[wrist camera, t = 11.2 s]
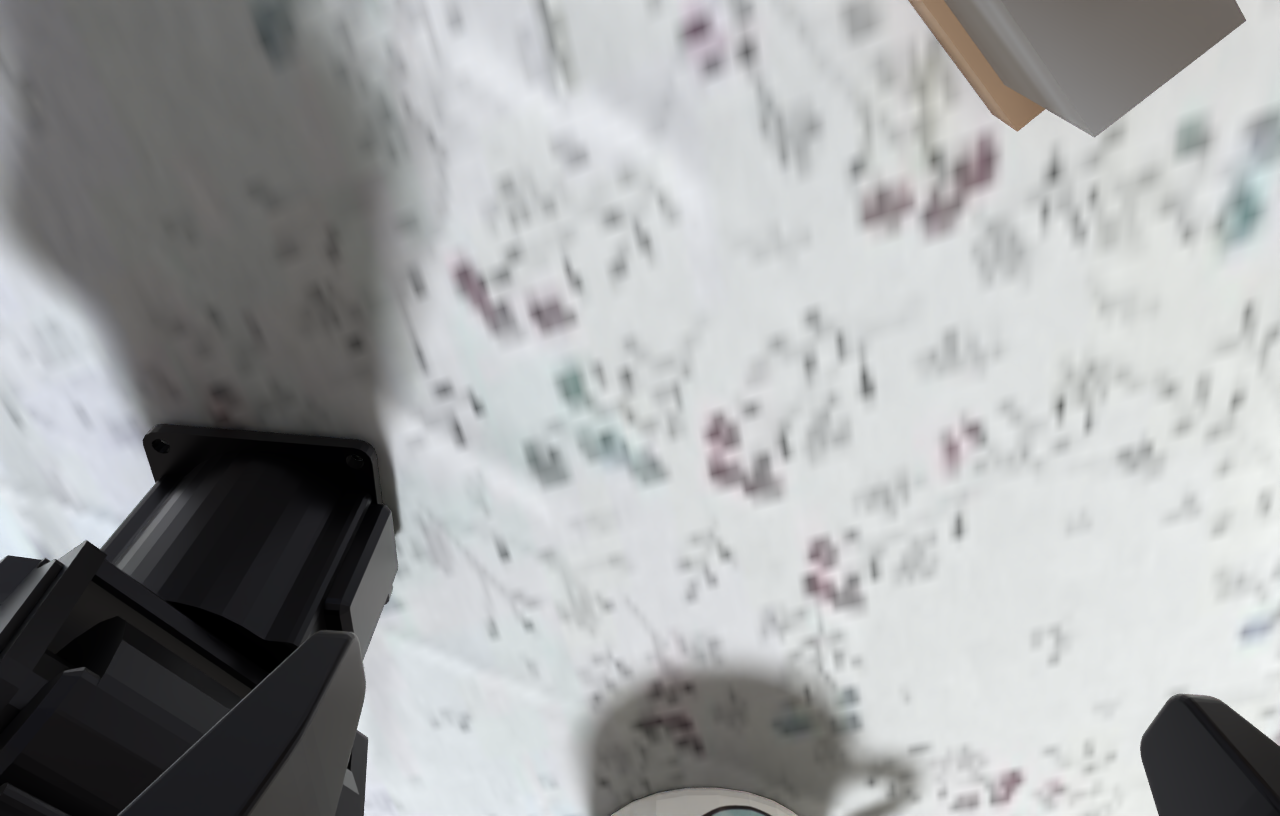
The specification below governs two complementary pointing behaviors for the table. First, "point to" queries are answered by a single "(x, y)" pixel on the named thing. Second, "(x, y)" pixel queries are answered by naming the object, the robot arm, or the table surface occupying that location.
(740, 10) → the table surface
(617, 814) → the mug
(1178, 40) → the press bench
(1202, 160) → the table surface
